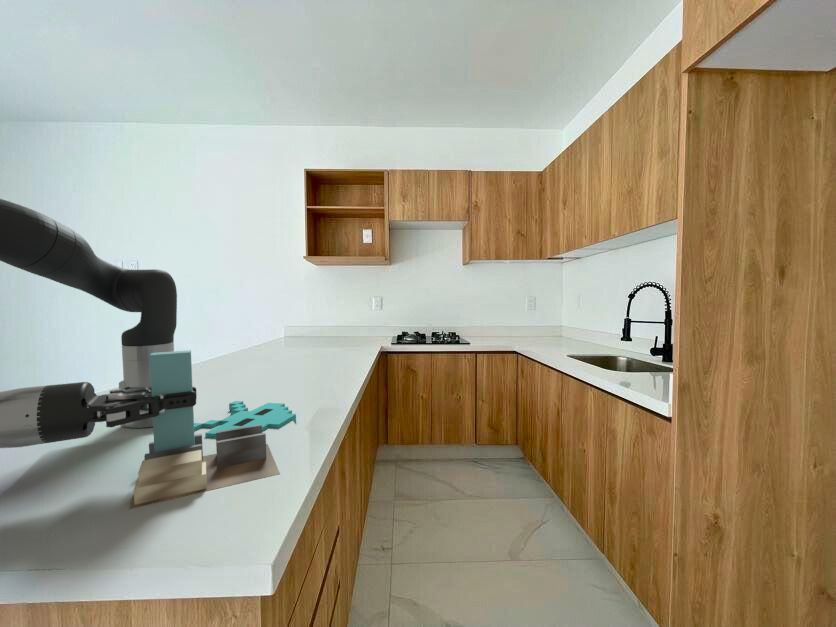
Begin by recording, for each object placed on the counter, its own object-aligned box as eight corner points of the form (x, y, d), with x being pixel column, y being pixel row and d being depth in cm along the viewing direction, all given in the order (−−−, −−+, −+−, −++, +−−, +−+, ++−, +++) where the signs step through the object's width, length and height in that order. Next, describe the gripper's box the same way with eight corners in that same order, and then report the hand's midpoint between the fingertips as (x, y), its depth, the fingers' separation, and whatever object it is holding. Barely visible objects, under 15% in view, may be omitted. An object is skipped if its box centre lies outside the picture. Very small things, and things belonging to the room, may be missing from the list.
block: (155, 477, 55) (149, 355, 54) (157, 470, 57) (152, 352, 56) (195, 469, 58) (190, 352, 57) (195, 462, 60) (190, 350, 59)
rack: (129, 516, 47) (127, 477, 47) (143, 473, 58) (142, 442, 58) (280, 480, 56) (279, 447, 56) (267, 449, 67) (266, 421, 67)
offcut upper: (138, 487, 48) (138, 472, 48) (143, 474, 52) (142, 460, 52) (201, 474, 52) (201, 460, 52) (202, 463, 55) (201, 449, 55)
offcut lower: (134, 504, 48) (133, 489, 48) (139, 489, 52) (139, 474, 52) (206, 488, 52) (206, 474, 52) (206, 474, 56) (206, 461, 56)
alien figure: (165, 441, 73) (258, 448, 69) (165, 430, 73) (258, 436, 69) (235, 409, 92) (310, 414, 88) (235, 400, 92) (310, 405, 88)
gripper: (20, 398, 44) (194, 380, 52) (60, 376, 56) (196, 364, 64) (24, 462, 44) (196, 433, 53) (63, 426, 56) (197, 408, 65)
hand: (195, 395), depth 58 cm, fingers closed on block, 2 cm apart
